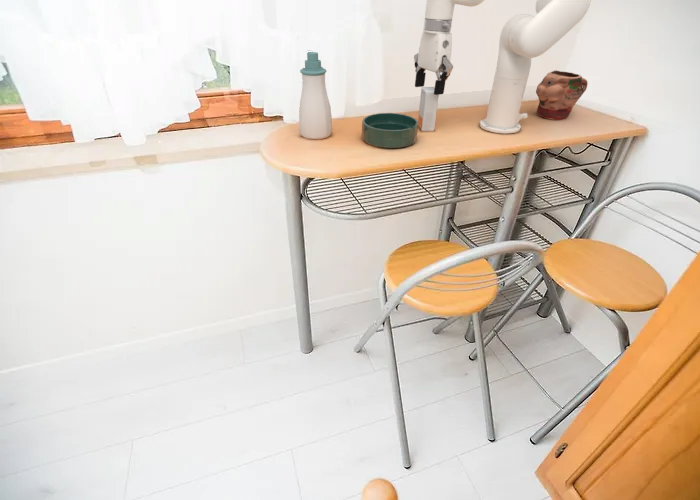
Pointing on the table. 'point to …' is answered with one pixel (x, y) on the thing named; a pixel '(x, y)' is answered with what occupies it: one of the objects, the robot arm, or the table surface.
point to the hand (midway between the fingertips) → (428, 90)
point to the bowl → (389, 130)
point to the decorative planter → (559, 94)
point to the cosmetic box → (427, 109)
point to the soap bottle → (314, 101)
